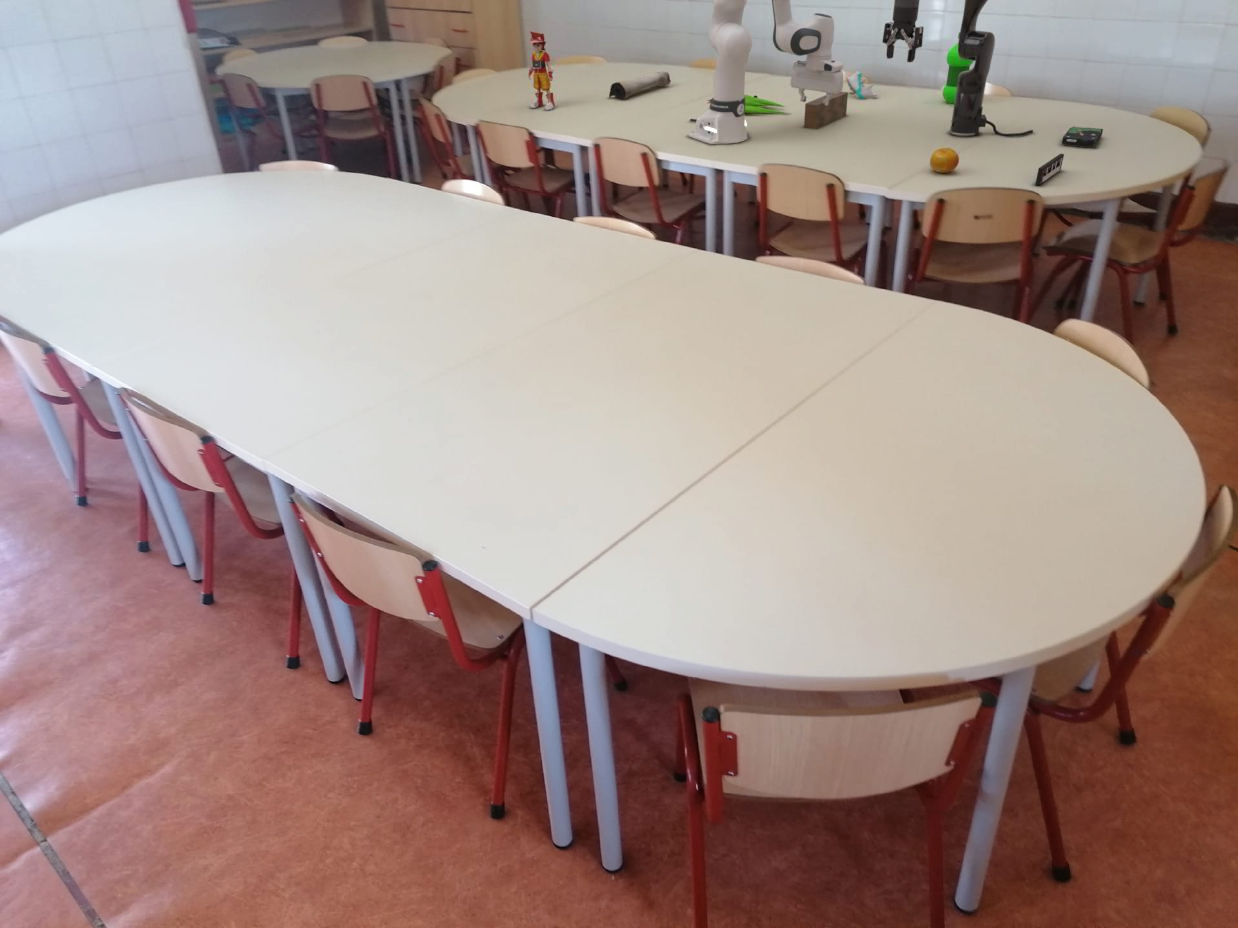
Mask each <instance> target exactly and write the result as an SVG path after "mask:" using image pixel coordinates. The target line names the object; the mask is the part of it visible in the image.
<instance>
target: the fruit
mask: <svg viewBox="0 0 1238 928" xmlns="http://www.w3.org/2000/svg"><path fill="white" fill-rule="evenodd" d="M959 163H960V156H959V154H958V152H957V151H956V150H955V149H953V148H951V147H942V148H938V149H936V150H934V151H933V153H932V154H931V155H930V159H929V166H930V168H931V169H932V170H933V171H934V172H936V173H939V174H940V173H943V174H944V173H945V174H946V173H951V172H953V171H954V170H956V168H957V167H958V165H959Z"/></svg>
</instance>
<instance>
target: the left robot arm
mask: <svg viewBox="0 0 1238 928" xmlns="http://www.w3.org/2000/svg"><path fill="white" fill-rule="evenodd" d="M746 4H747V0H713V8H712V14H711V20H710V27H709V30H708V41H709V44H710V46H711V48H712V49H713V50H714V51H715V52H717V60H716V65H715V69H714V73H713V79H712V80H713V83H712V84H713V87H712V88H713V89H712V93H713V94H712V97H711V99H707V104H709V107H708V109H707V110H706V111H705V112H703V113H702V114H701V115H700V116H698V118H697V119H696V118H690V119H689V121H690V122H695V126H694V130H692V131H690V132H689V133H688V137H689V138H692V139H695V140H698V141H700V142H704V143H707V144H709V145H718V144H721V145H722V144H723V145H725V144H726V145H727V144H736V143H742V142H744V141H746V140H748V139H749V138H748V137H749V136H748V133H747V121H746V117H745V113H744V111H745V97H744V95H745V85H746V83H745V82H746V70H747V66H748V61H749V54H750V53H751V50H752V47H753V39H752V36H751V34H750V32H749V30H748V29H747V28H746V27H745V26H743V23H742V21H743V15H744V10H745V8H746ZM771 5H772V13H773V32H772V43H773V45H774V47H775V49H776V50H778V51H779V52H782V53H788V54H790V55H794V56H796V57H803V56H806V58H805V59H806V60H796V61H794V62H793V64H792V72H791V77H790V87H791V88H794V89H798V90H797V91H798V94H799V97H800V102H802V103H804V102H805V103H806V101H807V95H805V91H806V90H807V91H814V92H820V93H826V94H825V95H826V96H827V98H826V99H825V100H823V105H828V103H829V99H830V98H831V96H832V93H833V94H837V93H840V92H843V88H844V73H843V71H842V70H843V69H844V63H843V62H841V61H839V60H837V59H836V58H834V57H832V55H833V53H832V52H833V51H832V46H833V43H834V37H835V20H834V18H833V17H832V16H831V15H828V14H824V13H820V12H819V13H818V12H817V13H815V12H814V13H813V14H812V15H811V17H810V18H808V19H807V20H805V21H803V22H801V23H800V24H798V23H796V22H795V21H794V19H793V14H792V5H791V0H771Z"/></svg>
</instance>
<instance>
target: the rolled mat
mask: <svg viewBox="0 0 1238 928" xmlns="http://www.w3.org/2000/svg"><path fill="white" fill-rule="evenodd" d="M671 83H672V81H671V77H670V74H669V72H668V71H658V72H654V73H649V74H645V75H640V76H637V77H633V78H628V79H623V80H620V81H616V82H613V83H612V84H611V85H610V89H609V95H608V97H609V98H611V97H616V99H620V100H622V101H623V100H626V99H627V98H629V97H630V96H632V95H635V94H636V93H638V92H640V91H643V90H644V89H647V88H650V87H655V86H658V87H659V86H661V87H665V86H669V85H670V84H671Z"/></svg>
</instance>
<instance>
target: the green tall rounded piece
mask: <svg viewBox="0 0 1238 928" xmlns="http://www.w3.org/2000/svg"><path fill="white" fill-rule="evenodd" d="M959 35H960V31H959V32H958V36H957V39H959ZM946 63H947V64H948V69H947V70H948V71H947V76H946V77H947V78H946V84H945V85H944V87H943V90H942V97H943V99H944V100H945V101H946V102H947V103H948V104H954V103H955V96H956V90H957V83H958V77H959V74H960V73H961V72H963V71H967V70H970V67H971V65H972V64H973V63H974V61H971V60H964V59H961V58H960V57H959V56H958V42H957V43H956V44H954V45H953V46H952V47H951V48H950V49H949V50H948V52H947V54H946Z"/></svg>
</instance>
